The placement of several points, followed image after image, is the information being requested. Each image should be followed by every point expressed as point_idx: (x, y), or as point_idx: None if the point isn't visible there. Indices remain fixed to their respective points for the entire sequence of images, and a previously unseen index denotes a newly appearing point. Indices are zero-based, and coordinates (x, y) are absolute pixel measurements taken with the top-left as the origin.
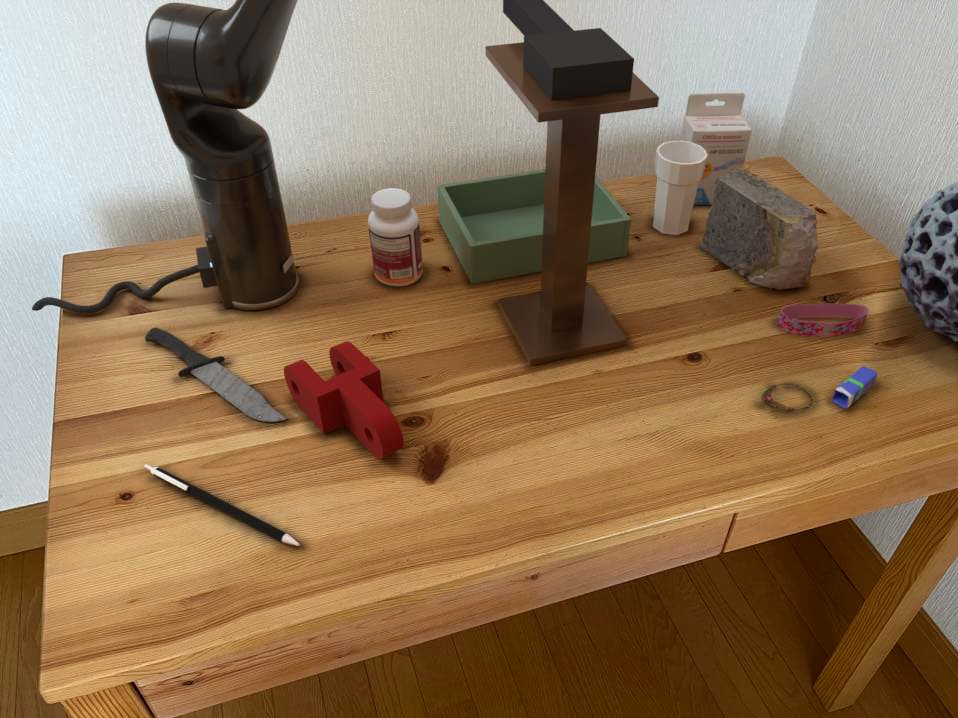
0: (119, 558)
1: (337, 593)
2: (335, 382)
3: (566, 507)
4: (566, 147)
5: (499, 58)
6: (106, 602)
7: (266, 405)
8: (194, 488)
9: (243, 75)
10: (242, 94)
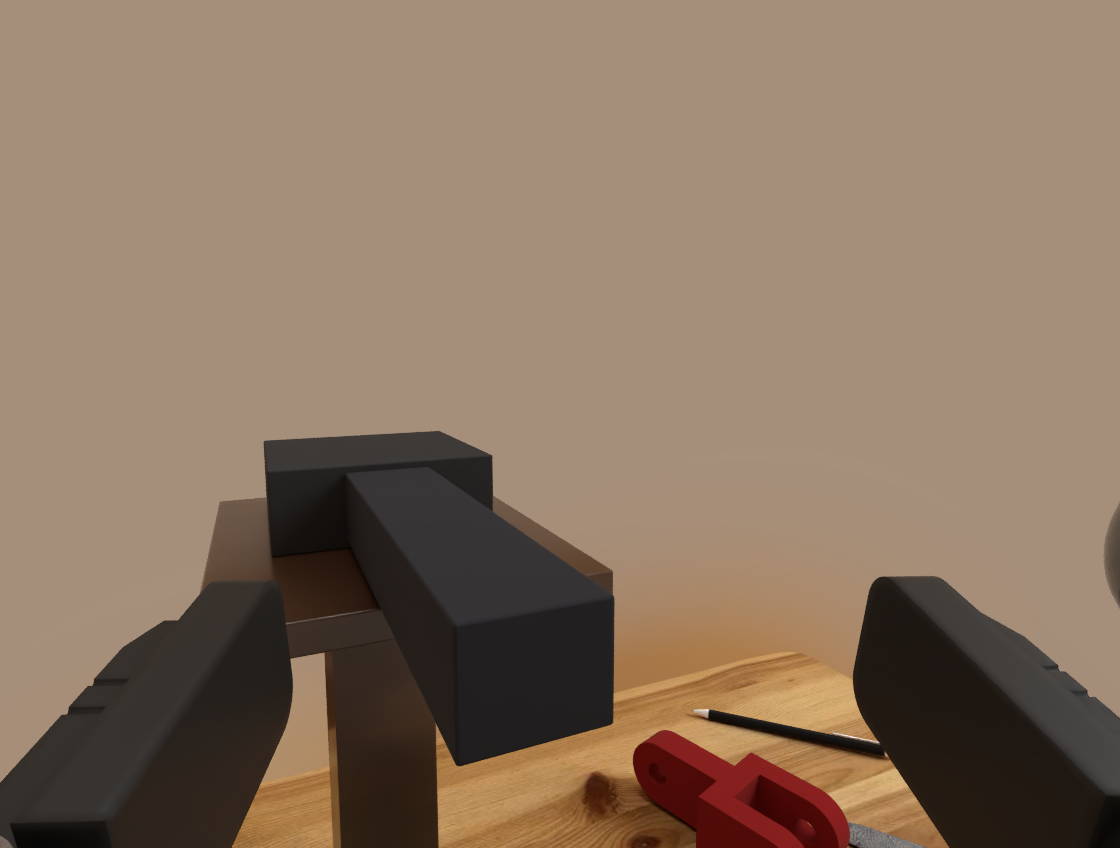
0: (834, 700)
1: (641, 692)
2: (744, 772)
3: (444, 762)
4: None
5: (557, 542)
6: (809, 678)
7: (855, 840)
8: (826, 734)
9: (1111, 540)
10: (1106, 574)
